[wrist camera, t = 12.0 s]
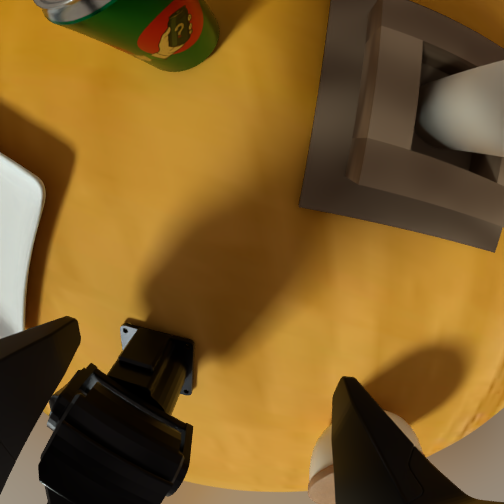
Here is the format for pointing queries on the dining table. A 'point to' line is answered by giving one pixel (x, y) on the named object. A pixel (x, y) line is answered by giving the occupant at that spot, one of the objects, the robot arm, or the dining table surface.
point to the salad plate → (17, 239)
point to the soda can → (143, 28)
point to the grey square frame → (398, 126)
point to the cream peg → (464, 111)
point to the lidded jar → (322, 462)
